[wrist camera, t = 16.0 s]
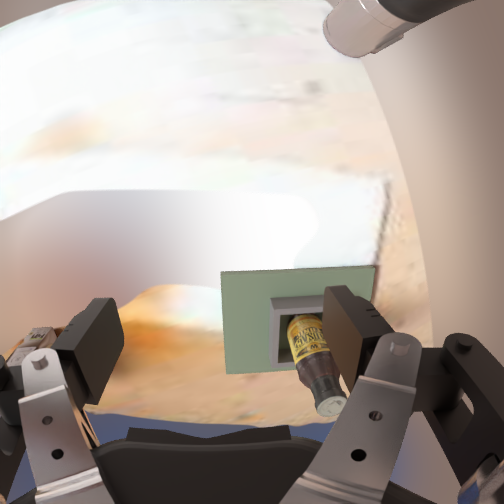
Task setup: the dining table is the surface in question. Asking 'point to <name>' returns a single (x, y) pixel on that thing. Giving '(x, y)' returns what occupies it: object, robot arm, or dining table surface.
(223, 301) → the deck plate
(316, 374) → the sauce bottle
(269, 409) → the dining table surface
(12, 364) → the coffee box
